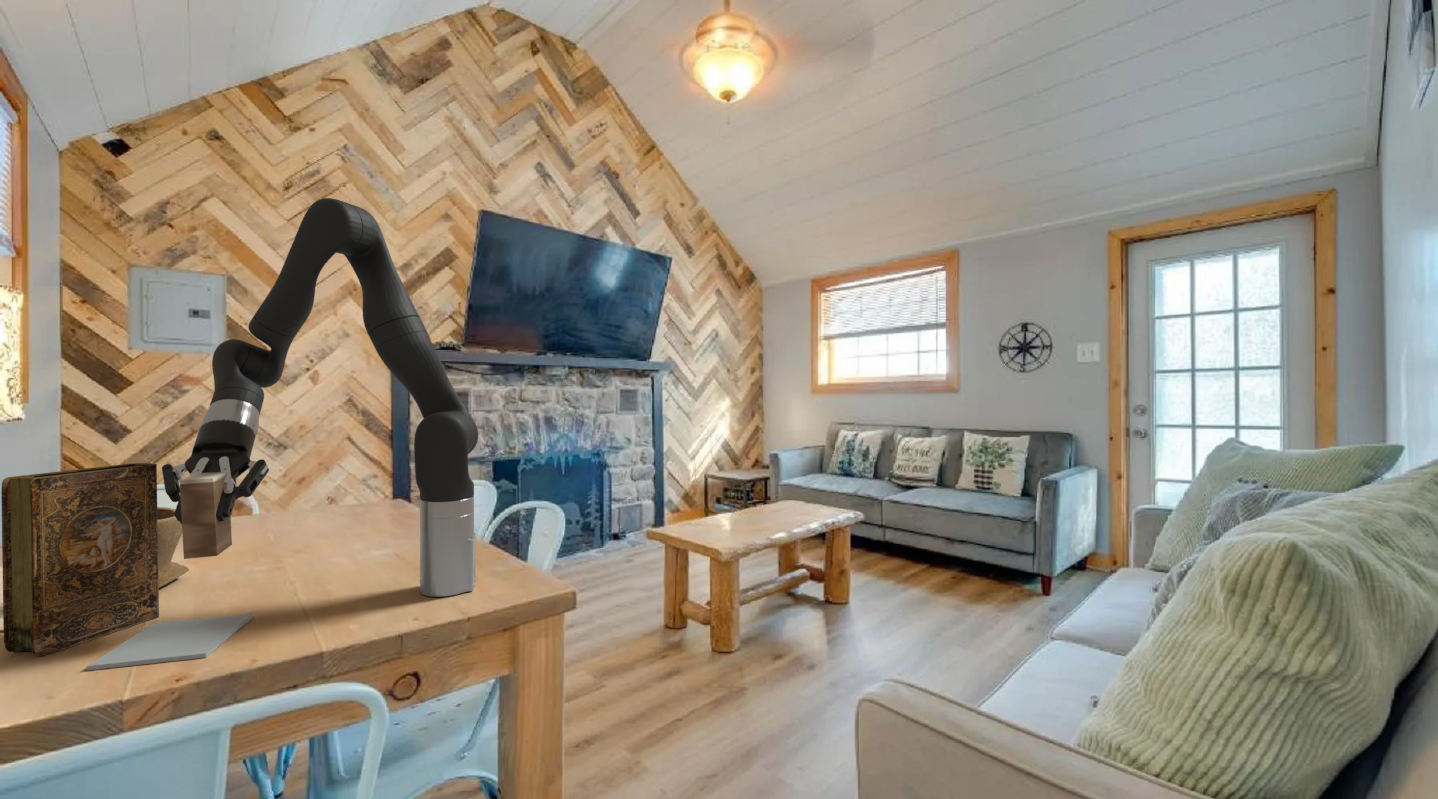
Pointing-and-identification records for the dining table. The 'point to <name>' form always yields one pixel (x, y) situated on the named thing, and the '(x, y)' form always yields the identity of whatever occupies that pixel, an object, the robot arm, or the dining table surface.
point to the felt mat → (173, 641)
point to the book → (78, 555)
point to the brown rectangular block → (203, 516)
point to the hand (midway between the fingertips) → (201, 519)
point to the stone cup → (168, 546)
